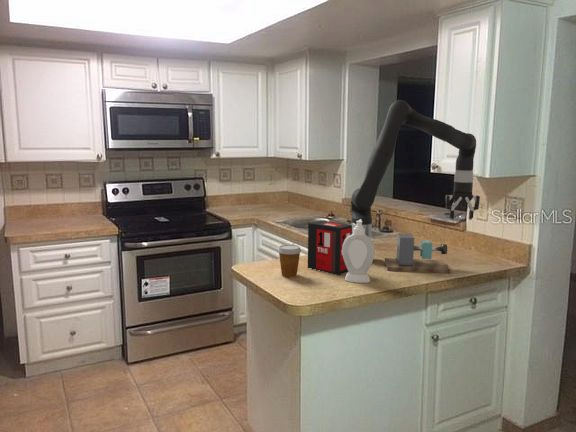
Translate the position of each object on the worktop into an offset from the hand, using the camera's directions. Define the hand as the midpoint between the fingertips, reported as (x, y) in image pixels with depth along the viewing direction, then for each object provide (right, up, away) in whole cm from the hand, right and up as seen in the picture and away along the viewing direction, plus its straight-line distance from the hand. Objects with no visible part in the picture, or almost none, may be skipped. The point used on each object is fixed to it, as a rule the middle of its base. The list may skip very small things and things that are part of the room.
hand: (461, 219), depth 207 cm
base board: (-18, -21, +6) cm, 28 cm away
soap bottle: (-47, -25, -14) cm, 55 cm away
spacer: (-14, -17, +5) cm, 22 cm away
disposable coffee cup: (-74, -23, -8) cm, 78 cm away
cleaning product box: (-57, -22, +1) cm, 61 cm away
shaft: (-13, -15, +4) cm, 21 cm away
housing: (-23, -20, +6) cm, 31 cm away
